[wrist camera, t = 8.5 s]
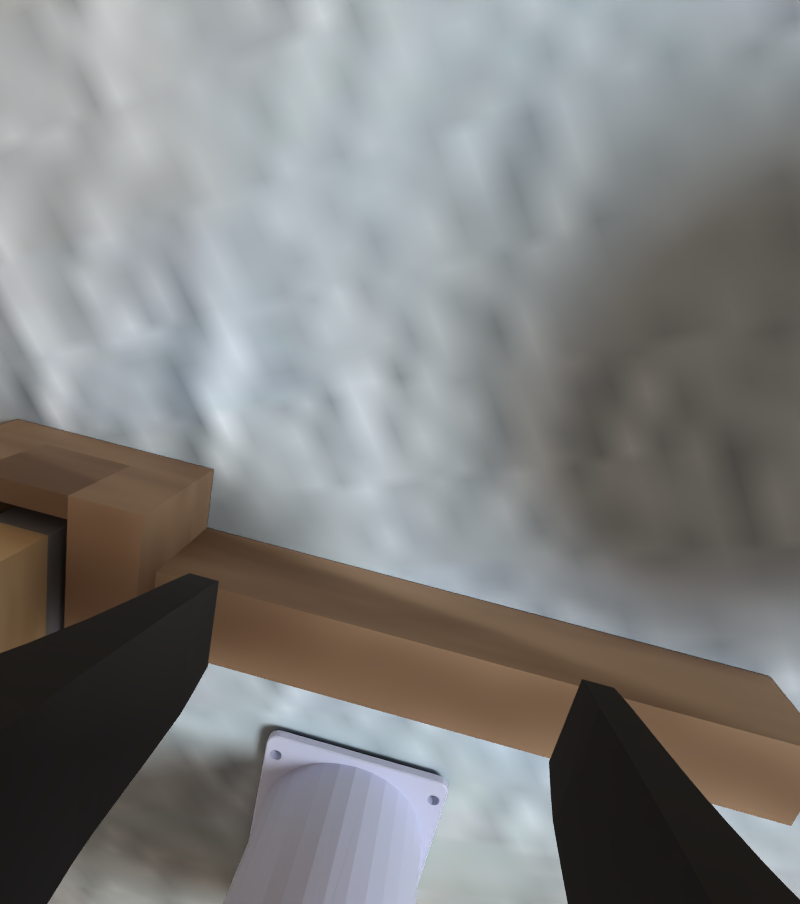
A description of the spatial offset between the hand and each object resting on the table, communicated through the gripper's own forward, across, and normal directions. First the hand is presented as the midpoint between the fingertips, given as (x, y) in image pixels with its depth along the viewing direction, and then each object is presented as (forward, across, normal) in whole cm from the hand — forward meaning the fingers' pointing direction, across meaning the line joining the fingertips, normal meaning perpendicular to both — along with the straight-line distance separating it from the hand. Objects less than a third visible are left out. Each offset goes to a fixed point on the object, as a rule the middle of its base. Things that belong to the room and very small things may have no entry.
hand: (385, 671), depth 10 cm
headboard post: (+9, +1, +5) cm, 11 cm away
